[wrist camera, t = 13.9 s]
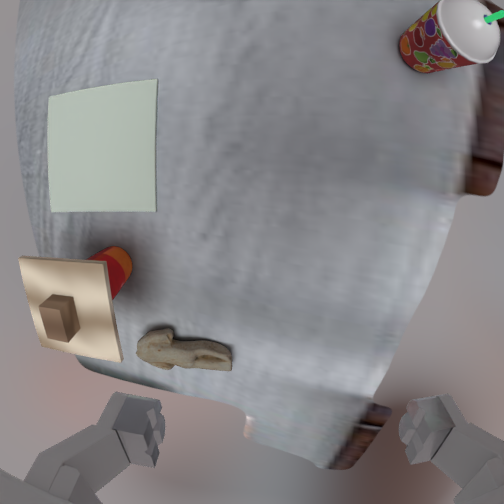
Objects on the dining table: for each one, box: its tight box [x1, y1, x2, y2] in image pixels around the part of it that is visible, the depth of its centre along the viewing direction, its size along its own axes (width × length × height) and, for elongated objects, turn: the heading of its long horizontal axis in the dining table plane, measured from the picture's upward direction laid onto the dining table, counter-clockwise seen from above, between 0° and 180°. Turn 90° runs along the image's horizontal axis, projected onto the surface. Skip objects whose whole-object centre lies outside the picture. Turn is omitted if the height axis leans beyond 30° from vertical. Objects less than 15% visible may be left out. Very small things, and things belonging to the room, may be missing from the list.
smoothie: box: [399, 0, 504, 73], centre depth 24 cm, size 8×8×20 cm
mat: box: [48, 79, 158, 212], centre depth 39 cm, size 18×18×1 cm
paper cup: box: [86, 246, 132, 300], centre depth 38 cm, size 8×8×14 cm
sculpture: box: [136, 328, 232, 371], centre depth 47 cm, size 7×5×15 cm
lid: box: [18, 256, 124, 362], centre depth 29 cm, size 12×12×4 cm
